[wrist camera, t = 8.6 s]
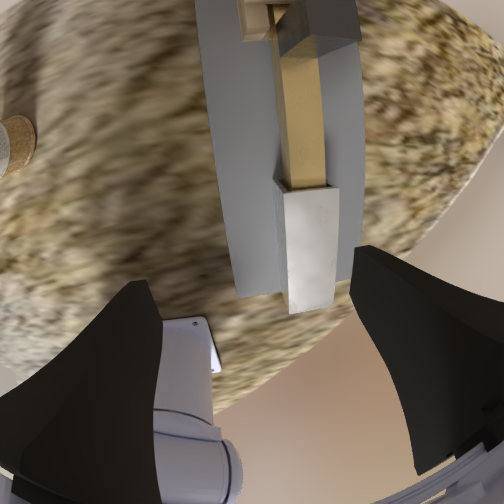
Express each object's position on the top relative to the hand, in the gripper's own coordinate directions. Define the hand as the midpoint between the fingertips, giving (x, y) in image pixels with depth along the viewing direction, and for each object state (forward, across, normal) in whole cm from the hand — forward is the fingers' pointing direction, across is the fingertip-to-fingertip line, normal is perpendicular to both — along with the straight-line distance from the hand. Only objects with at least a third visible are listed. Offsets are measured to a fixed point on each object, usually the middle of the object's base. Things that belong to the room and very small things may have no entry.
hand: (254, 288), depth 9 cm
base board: (+10, -4, -3) cm, 12 cm away
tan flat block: (+9, -4, -6) cm, 12 cm away
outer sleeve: (+9, -4, +3) cm, 11 cm away
